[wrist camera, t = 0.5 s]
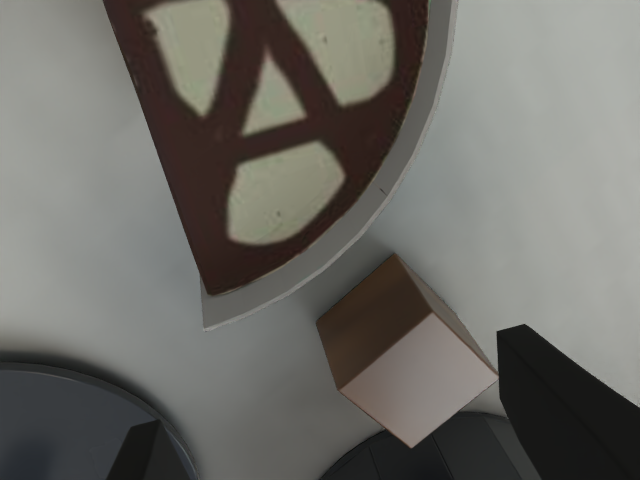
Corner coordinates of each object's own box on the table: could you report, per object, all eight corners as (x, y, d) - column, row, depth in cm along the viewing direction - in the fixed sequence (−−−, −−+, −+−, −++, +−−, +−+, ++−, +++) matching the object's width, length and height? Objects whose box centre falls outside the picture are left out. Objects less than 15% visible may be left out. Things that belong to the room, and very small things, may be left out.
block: (379, 377, 26) (411, 450, 22) (314, 321, 24) (336, 391, 20) (456, 313, 25) (502, 378, 21) (394, 251, 23) (433, 309, 19)
